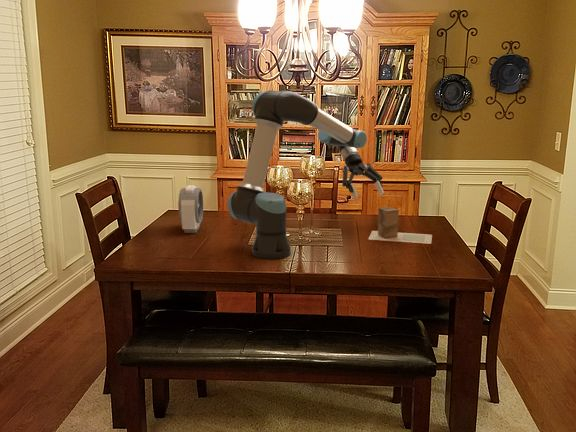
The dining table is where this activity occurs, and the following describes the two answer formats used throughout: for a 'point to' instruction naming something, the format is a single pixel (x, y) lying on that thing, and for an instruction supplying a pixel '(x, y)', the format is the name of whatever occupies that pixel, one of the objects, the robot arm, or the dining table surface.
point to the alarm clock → (190, 208)
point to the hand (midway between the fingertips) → (369, 196)
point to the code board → (404, 237)
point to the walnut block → (388, 222)
